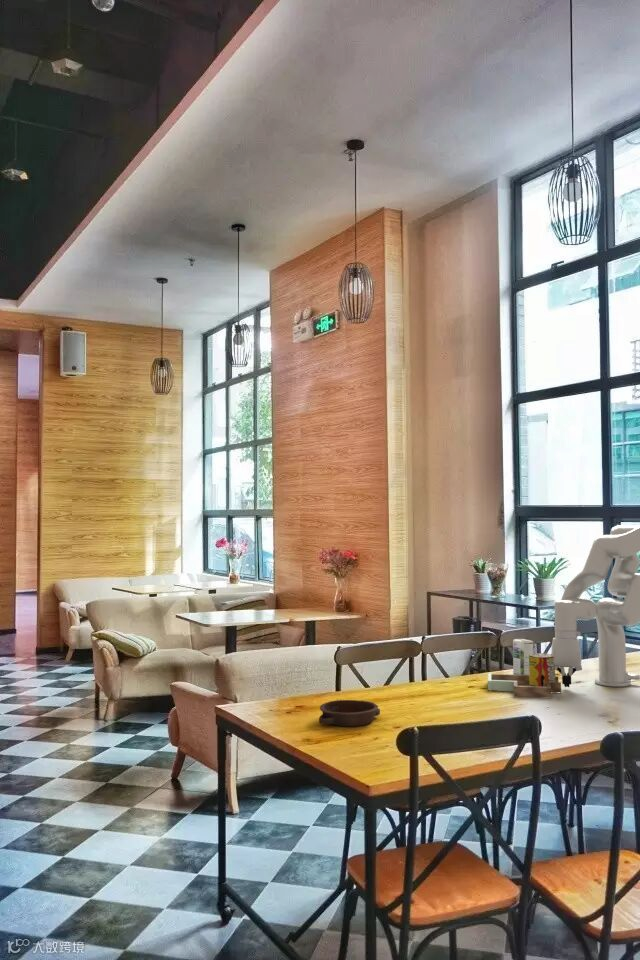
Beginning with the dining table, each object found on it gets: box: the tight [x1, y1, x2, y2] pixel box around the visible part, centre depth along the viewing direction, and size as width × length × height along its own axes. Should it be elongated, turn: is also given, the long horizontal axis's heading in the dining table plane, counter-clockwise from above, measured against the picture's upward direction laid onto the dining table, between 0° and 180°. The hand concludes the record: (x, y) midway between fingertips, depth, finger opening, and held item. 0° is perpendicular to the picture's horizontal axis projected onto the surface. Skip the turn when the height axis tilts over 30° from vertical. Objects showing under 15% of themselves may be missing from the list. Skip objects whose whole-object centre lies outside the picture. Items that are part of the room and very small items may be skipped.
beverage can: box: [529, 652, 556, 687], centre depth 288 cm, size 9×9×12 cm
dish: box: [318, 699, 381, 728], centre depth 242 cm, size 18×22×5 cm
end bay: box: [487, 672, 517, 692], centre depth 291 cm, size 10×14×4 cm
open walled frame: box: [491, 673, 562, 698], centre depth 285 cm, size 24×22×4 cm
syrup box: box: [512, 638, 534, 675], centre depth 309 cm, size 6×6×14 cm
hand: (566, 686), depth 286 cm, fingers closed
